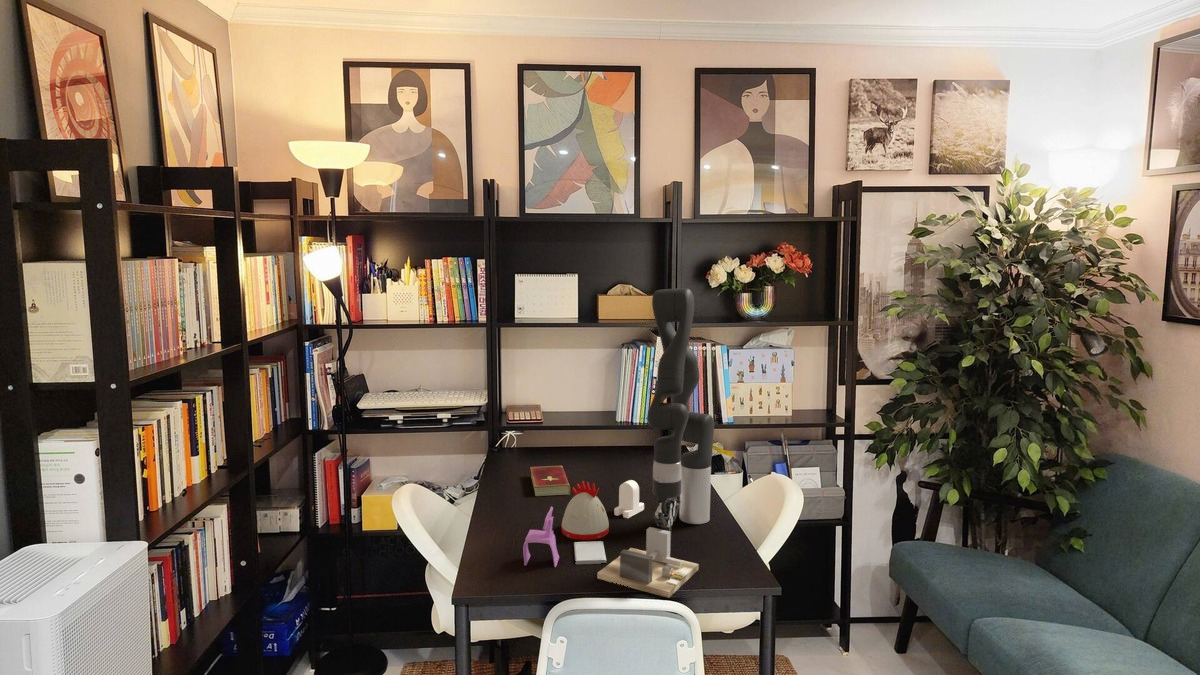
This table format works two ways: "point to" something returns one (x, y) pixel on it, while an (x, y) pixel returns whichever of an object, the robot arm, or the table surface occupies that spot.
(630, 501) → the cable organizer
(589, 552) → the hard drive
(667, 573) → the grey block with pin
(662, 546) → the upright plate with peg
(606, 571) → the bench
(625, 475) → the table surface
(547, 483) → the hardcover book
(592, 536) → the kitchen timer
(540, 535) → the toy chair
